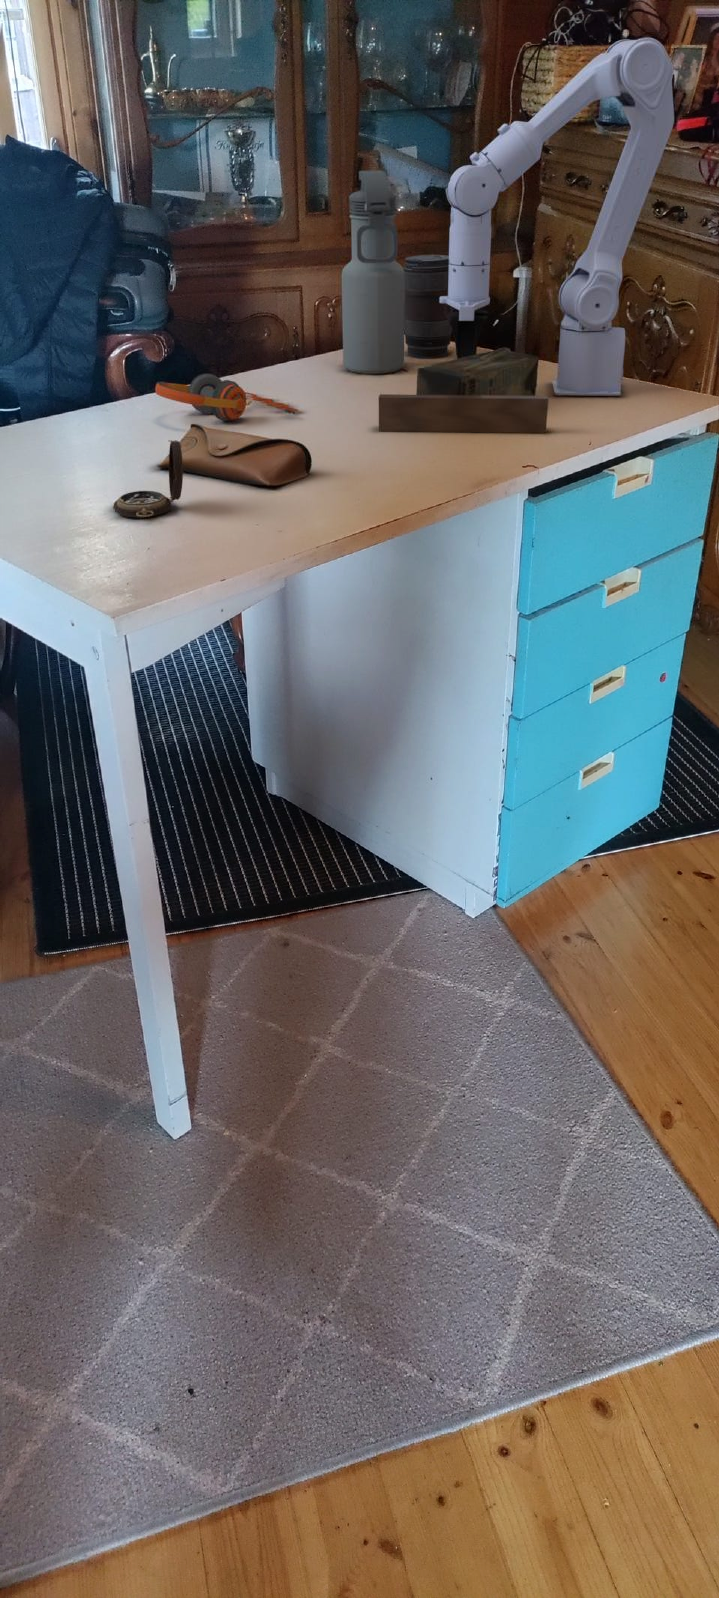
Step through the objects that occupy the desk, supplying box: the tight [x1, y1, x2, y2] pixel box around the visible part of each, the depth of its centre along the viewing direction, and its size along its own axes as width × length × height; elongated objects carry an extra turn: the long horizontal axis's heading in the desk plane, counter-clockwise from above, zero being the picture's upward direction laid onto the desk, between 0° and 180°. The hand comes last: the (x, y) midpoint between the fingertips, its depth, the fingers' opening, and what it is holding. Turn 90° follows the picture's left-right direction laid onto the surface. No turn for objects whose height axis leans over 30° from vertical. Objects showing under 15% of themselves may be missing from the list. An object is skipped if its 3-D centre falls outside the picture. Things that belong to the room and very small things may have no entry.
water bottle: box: [341, 169, 405, 375], centre depth 183 cm, size 10×10×28 cm
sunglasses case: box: [156, 423, 313, 487], centre depth 142 cm, size 18×7×7 cm
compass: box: [112, 439, 184, 518], centre depth 128 cm, size 8×8×7 cm
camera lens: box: [403, 254, 454, 359], centre depth 196 cm, size 8×8×15 cm
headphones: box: [155, 373, 299, 422], centre depth 165 cm, size 17×5×20 cm
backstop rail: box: [378, 393, 549, 434], centre depth 156 cm, size 22×2×4 cm, turn 84°
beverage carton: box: [415, 347, 540, 396], centre depth 167 cm, size 8×19×7 cm, turn 138°
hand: (465, 365), depth 172 cm, fingers closed
